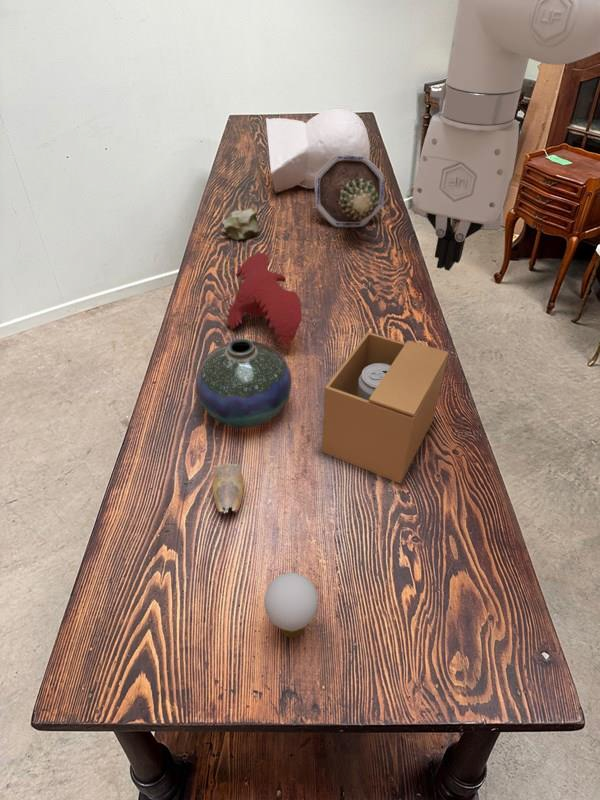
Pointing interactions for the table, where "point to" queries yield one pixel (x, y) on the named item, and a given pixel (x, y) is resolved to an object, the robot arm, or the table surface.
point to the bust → (312, 145)
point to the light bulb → (291, 603)
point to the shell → (228, 487)
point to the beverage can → (371, 379)
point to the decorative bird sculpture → (265, 299)
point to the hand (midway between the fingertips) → (446, 264)
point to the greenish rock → (241, 224)
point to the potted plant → (349, 190)
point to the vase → (243, 383)
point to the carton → (374, 415)
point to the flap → (409, 378)
